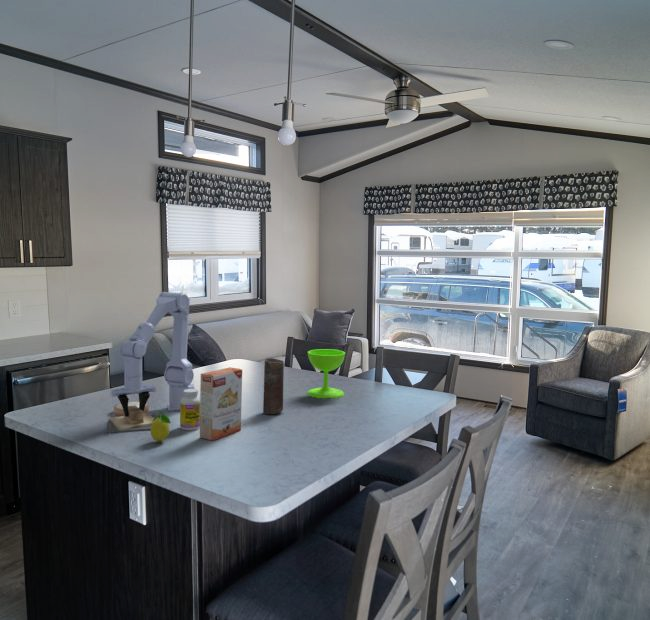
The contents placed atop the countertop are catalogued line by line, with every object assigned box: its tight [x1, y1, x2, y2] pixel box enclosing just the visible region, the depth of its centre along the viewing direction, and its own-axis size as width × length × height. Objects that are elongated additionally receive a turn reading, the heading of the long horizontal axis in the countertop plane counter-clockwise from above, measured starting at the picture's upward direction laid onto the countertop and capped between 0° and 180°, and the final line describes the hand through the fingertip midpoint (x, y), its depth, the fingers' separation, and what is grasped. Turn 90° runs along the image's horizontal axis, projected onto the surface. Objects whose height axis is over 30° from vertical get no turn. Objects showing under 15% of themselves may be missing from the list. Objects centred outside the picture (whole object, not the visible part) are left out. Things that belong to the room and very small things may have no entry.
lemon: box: [150, 410, 171, 443], centre depth 169 cm, size 7×6×10 cm
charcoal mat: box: [107, 414, 159, 434], centre depth 187 cm, size 16×16×1 cm
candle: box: [262, 357, 285, 415], centre depth 203 cm, size 8×7×20 cm
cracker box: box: [199, 366, 243, 441], centre depth 178 cm, size 14×6×21 cm, turn 148°
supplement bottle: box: [179, 388, 200, 431], centre depth 184 cm, size 7×7×13 cm
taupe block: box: [108, 405, 155, 431], centre depth 187 cm, size 13×13×5 cm
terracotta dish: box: [113, 400, 150, 417], centre depth 201 cm, size 12×12×3 cm
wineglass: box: [306, 348, 346, 399], centre depth 233 cm, size 16×16×18 cm
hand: (133, 414), depth 187 cm, fingers open, 4 cm apart
